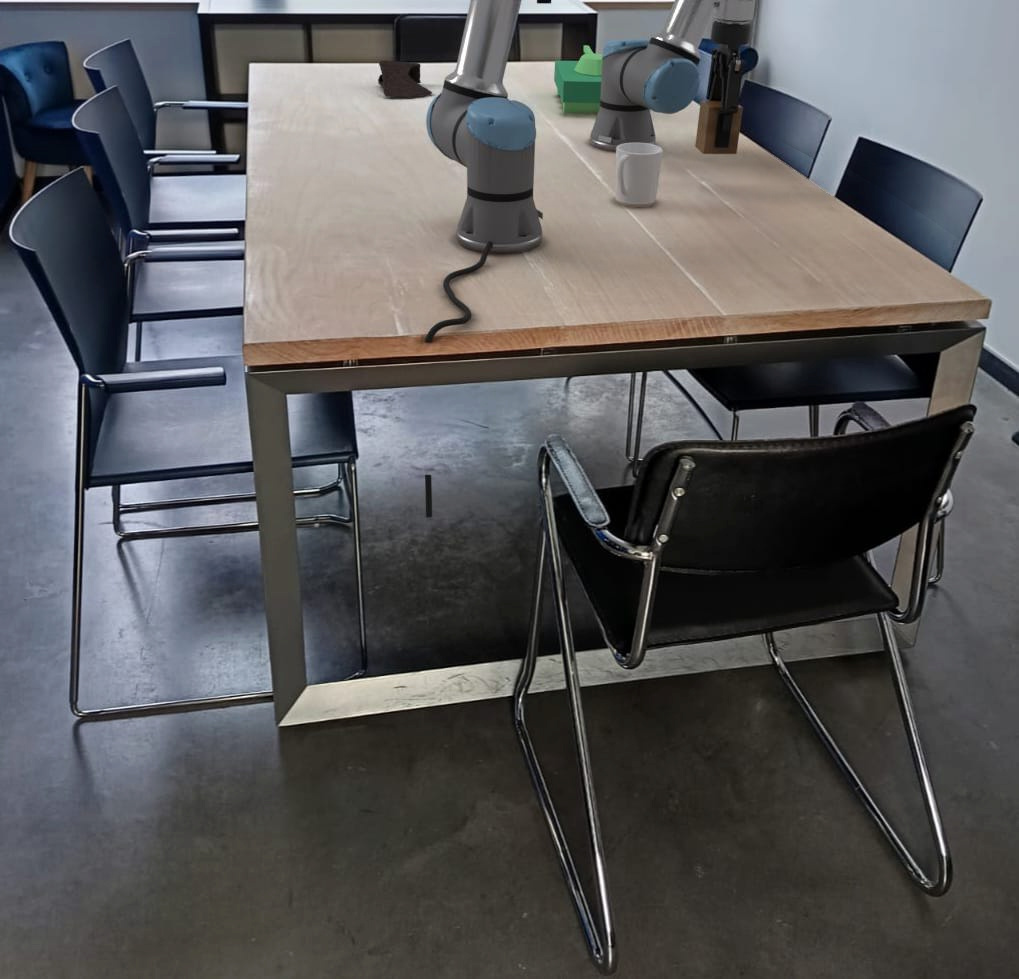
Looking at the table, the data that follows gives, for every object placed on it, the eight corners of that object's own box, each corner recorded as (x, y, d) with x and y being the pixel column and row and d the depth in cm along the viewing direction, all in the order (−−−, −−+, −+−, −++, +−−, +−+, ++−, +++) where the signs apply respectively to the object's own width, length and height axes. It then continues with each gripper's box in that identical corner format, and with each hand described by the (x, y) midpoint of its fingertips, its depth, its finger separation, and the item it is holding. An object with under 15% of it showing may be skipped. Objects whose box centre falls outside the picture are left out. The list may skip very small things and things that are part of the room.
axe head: (443, 87, 294) (392, 77, 287) (436, 115, 299) (385, 106, 292) (421, 62, 307) (371, 52, 300) (414, 89, 311) (365, 80, 304)
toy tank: (617, 42, 302) (635, 66, 272) (613, 88, 309) (631, 117, 279) (553, 40, 301) (564, 65, 271) (551, 87, 308) (562, 116, 278)
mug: (629, 191, 223) (633, 140, 217) (666, 200, 218) (671, 148, 212) (597, 203, 215) (601, 150, 210) (635, 213, 210) (640, 159, 205)
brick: (727, 146, 227) (734, 101, 223) (736, 154, 222) (743, 107, 217) (695, 146, 226) (700, 100, 222) (703, 154, 221) (709, 107, 217)
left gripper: (699, 13, 219) (686, 131, 231) (728, 28, 203) (712, 154, 215) (735, 14, 220) (720, 132, 232) (767, 29, 204) (748, 154, 216)
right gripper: (513, -129, 215) (511, -11, 226) (532, -122, 194) (529, 7, 205) (550, -128, 216) (546, -11, 227) (574, -122, 195) (568, 7, 206)
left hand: (716, 142), depth 223 cm, fingers closed on brick, 6 cm apart
